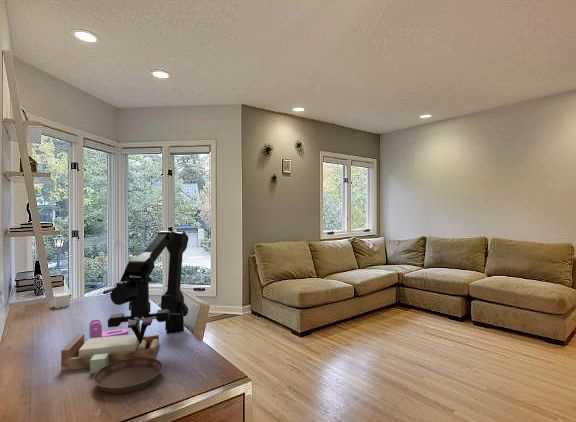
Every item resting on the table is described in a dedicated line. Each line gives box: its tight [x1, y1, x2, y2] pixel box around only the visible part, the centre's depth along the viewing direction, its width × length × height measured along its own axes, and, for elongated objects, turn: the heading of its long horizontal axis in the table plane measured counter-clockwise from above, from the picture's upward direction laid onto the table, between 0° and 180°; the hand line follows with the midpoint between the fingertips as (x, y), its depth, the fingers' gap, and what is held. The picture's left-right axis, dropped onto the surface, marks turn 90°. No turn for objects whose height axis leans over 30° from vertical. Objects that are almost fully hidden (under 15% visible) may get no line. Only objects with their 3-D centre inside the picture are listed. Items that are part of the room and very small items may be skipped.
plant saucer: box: [92, 357, 164, 394], centre depth 94 cm, size 18×18×3 cm
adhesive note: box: [52, 292, 71, 309], centre depth 171 cm, size 6×6×6 cm
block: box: [89, 353, 109, 374], centre depth 101 cm, size 4×4×4 cm
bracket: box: [88, 318, 129, 339], centre depth 128 cm, size 13×6×7 cm, turn 123°
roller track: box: [60, 333, 160, 371], centre depth 111 cm, size 26×14×6 cm, turn 105°
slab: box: [79, 333, 139, 357], centre depth 110 cm, size 16×10×2 cm, turn 106°
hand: (140, 343), depth 113 cm, fingers closed
